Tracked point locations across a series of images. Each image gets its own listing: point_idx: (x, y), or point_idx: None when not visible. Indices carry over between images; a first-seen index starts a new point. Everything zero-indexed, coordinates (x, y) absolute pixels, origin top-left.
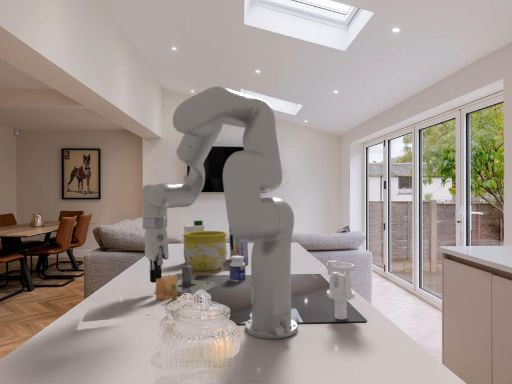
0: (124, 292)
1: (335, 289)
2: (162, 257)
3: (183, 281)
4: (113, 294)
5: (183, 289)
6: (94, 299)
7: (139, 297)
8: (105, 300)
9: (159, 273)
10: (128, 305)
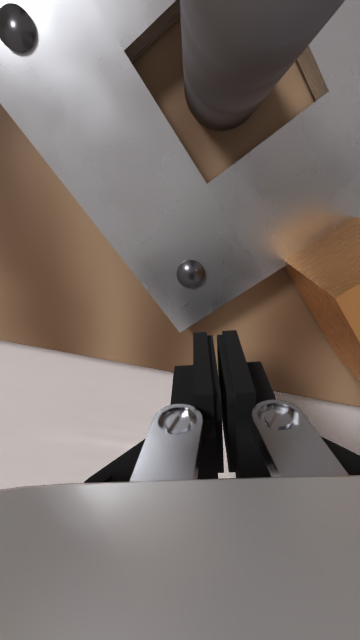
0: (21, 422)
1: None
2: (225, 495)
3: (253, 105)
4: (41, 462)
5: (344, 153)
6: None
7: (150, 382)
8: None
9: (270, 389)
10: None
